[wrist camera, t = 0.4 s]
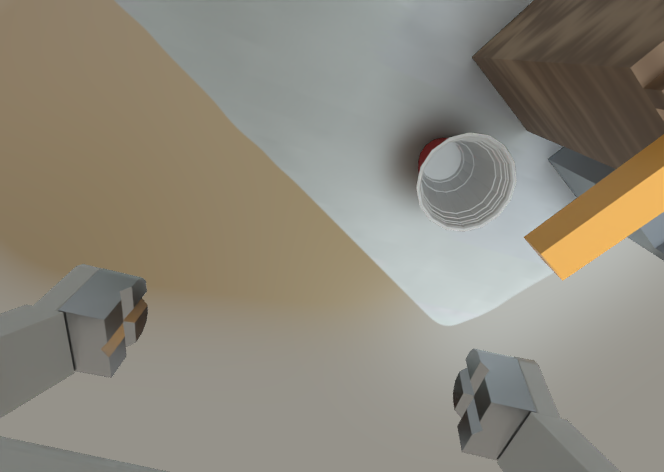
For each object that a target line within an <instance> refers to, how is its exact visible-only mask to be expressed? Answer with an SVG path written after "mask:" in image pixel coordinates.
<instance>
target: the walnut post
mask: <svg viewBox="0 0 664 472" xmlns="http://www.w3.org/2000/svg"><path fill="white" fill-rule="evenodd" d="M472 58H473V59H474V61H475V62H476V63H477V65H478V66H479V67H480V69H481V70H482V71H483V73H484V74H485V75H486V77H487V78H488V79H489V81H490V82H491V83H492V85H493V86H494V87H495V89H496V90H497V91H498V93H499V94H500V95H501V97H502V98H503V99H504V101H505V102H506V103H507V104H508V106H509V107H510V108H511V110H512V111H513V112H514V114H515V115H516V116H517V118H518V119H519V120H520V122H521V123H522V124H523V126H524V127H525V128H526V130H527V131H529V132H531V133H533V134H536V135H538V136H540V137H543V138H545V139H547V140H550V141H552V142H554V143H557V144H559V145H561V146H564V147H566V148H568V149H571V150H573V151H575V152H578V153H580V154H582V155H585V156H587V157H589V158H591V159H594V160H596V161H598V162H601V163H603V164H605V165H608V166H610V167H612V168H615V169H617V168H619V167H620V166H621V165H623V164H624V163H625V162H627V161H628V160H629V159H631V158H632V157H634V156H635V155H636V154H638V153H639V152H640V151H642V150H643V149H644V148H646V147H647V146H649V145H650V144H651V143H653V142H654V141H655V140H657V139H658V138H659V137H661V136H662V135H663V134H664V0H534V1H533V2H532V3H531V4H530V5H529V6H527V7H526V8H525V9H524V10H523V11H522V12H521V13H520V14H519V15H518V16H516V17H515V18H514V19H513V20H512V21H511V22H510V23H509V24H508V25H507V26H505V27H504V28H503V29H502V30H501V31H500V32H499V33H498V34H497V35H496V36H495V37H493V38H492V39H491V40H490V41H489V42H488V43H487V44H486V45H485V46H484V47H482V48H481V49H480V50H479V51H478V52H477V53H476V54H475V55H474V56H473V57H472Z"/></svg>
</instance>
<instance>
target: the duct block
mask: <svg viewBox="0 0 664 472" xmlns="http://www.w3.org/2000/svg"><path fill="white" fill-rule="evenodd" d="M548 160H549V161H550V162H551V164H552V165H553V166H554V168H555V169H556V170H557V172H558V173H559V174H560V176H561V177H562V178H563V180H564V181H565V182H566V184H567V185H568V186H569V188H570V189H571V190H572V192H573V193H574V194H575V196H576V197H577V198H578V197H579V196H580V195H582V194H583V193H585V192H586V191H587V190H589V189H590V188H591V187H593V186H594V185H595V184H597V183H598V182H600V181H601V180H602V179H604V178H605V177H606V176H608V175H609V174H610V173H612V172H613V171H614V170H616V169H615V168H612V167H610V166H608V165H605V164H603V163H601V162H598V161H596V160H594V159H591V158H589V157H587V156H585V155H582V154H580V153H578V152H575V151H573V150H571V149H568V148H566V147H563V148H562V149H561V150H559V151H558V152H557V153H555V154H554V155H553V156H552V157H550V158H549V159H548ZM627 237H628V238H630V239H631V240H633V241H634V242H636V243H638V244H639V245H640V246H642V247H643V248H645V249H647V250H648V251H650V252H651V253H653V254H654V255H656V256H657V257H659V258H660V259H662V260H664V212H663V213H661V214H660V215H658V216H657V217H655V218H654V219H652V220H651V221H650V222H648V223H647V224H645V225H644V226H642V227H641V228H639V229H638V230H636V231H635V232H633V233H632V234H630V235H629V236H627Z"/></svg>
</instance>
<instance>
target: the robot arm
mask: <svg viewBox="0 0 664 472" xmlns="http://www.w3.org/2000/svg"><path fill="white" fill-rule="evenodd" d="M146 292H147V289H146V281H145V280H144V279H143V278H141V277H137V276H133V275H128V274H124V273H120V272H115V271H112V270H107V269H101V268H97V267H93V266H89V265H85V264H82V265H79V266H76V267H75V268H74V269H73V270H72V271H71V272H69V273H68V274H67V275H66V276H65V277H64V278H63V279H62V280H61V281H60V282H58V283H57V284H56V285H55V286H54V287H53V288H52V289H51V290H50V291H49V292H48V293H46V294H45V295H44V296H43V297H42V298H41V299H40V300H39V301H38V302H37V303H35V304H34V305H33V306H31V305H24V306H21V307H18V308H15V309H12V310H9V311H7V312H4V313H1V314H0V418H1V417H3V416H5V415H6V414H8V413H10V412H11V411H13V410H15V409H16V408H18V407H19V406H21V405H23V404H24V403H26V402H28V401H29V400H31V399H33V398H34V397H36V396H38V395H39V394H41V393H43V392H44V391H46V390H47V389H49V388H51V387H52V386H54V385H56V384H57V383H59V382H61V381H62V380H64V379H66V378H67V377H69V376H70V375H72V374H74V371H77V372H83V373H88V374H94V375H99V376H104V377H110V378H111V377H112V376H113V375H114V373H115V372H116V370H117V369H118V367H119V366H120V365H121V363H122V362H123V360H124V359H125V357H126V347H127V346H129V345H131V344H133V343H135V342H136V341H137V340H138V338H139V337H140V335H141V334H142V332H143V329H144V327H145V324H146V321H147V314H148V307H147V304H146V303H145V302H144V300H143V299H142V297H143V296H144V294H145V293H146ZM466 363H467V368H466V369H464V370H462V371H460V372H459V374H458V376H457V378H456V380H455V385H454V390H453V403H454V410H455V411H456V412H457V414H458V415H459V416H460V417H461V418H462V419H461V420H460V422H459V424H458V426H457V427H458V433H459V438H460V444H461V450H462V452H464V453H468V454H472V455H476V456H481V457H485V458H489V459H493V460H497V463H498V465H499V466H500V468H501V469H502V471H503V472H621V471H620V470H619V469H617V467H616V466H614V465H613V464H612V463H611V462H610V461H609V460H608V459H607V458H606V457H605V456H604V455H603V454H602V453H601V452H600V451H599V450H598V449H597V448H596V447H595V446H594V445H593V444H592V443H591V442H590V441H589V440H588V439H587V438H586V437H585V436H584V435H582V434H581V433H580V432H579V431H578V430H577V429H576V428H575V427H574V426H573V425H572V424H571V423H570V422H569V421H568V420H566V419H562V418H560V416H559V413H558V410H557V408H556V406H555V403H554V401H553V399H552V396H551V394H550V391H549V389H548V386H547V384H546V382H545V379H544V377H543V375H542V372H541V370H540V367H539V365H538V364H537V363H536V362H535V361H534V360H529V359H523V358H518V357H511V356H507V355H502V354H497V353H492V352H488V351H482V350H478V349H472V350H471V351H470V352H469V354H468V356H467V358H466ZM0 472H168V471H163V470H158V469H154V468H149V467H144V466H139V465H135V464H130V463H125V462H120V461H116V460H110V459H106V458H101V457H96V456H91V455H87V454H82V453H77V452H73V451H68V450H63V449H58V448H54V447H49V446H44V445H39V444H35V443H30V442H25V441H20V440H15V439H11V438H6V437H1V436H0Z"/></svg>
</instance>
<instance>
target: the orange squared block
mask: <svg viewBox="0 0 664 472" xmlns="http://www.w3.org/2000/svg"><path fill="white" fill-rule="evenodd" d="M663 212H664V134H663V135H662V136H661V137H659V138H658V139H657V140H655V141H654V142H653V143H651V144H650V145H649V146H647V147H646V148H644V149H643V150H642V151H640V152H639V153H638V154H636V155H635V156H634V157H632V158H631V159H629V160H628V161H627V162H625V163H624V164H623V165H621V166H620V167H619V168H617V169H616V170H614V171H613V172H612V173H610V174H609V175H608V176H606V177H605V178H604V179H602V180H601V181H600V182H598V183H597V184H595V185H594V186H593V187H591V188H590V189H589V190H587V191H586V192H585V193H583V194H582V195H580V196H579V197H578V198H576V199H575V200H574V201H572V202H571V203H570V204H568V205H567V206H566V207H564V208H563V209H561V210H560V211H559V212H557V213H556V214H555V215H553V216H552V217H551V218H549V219H548V220H546V221H545V222H544V223H542V224H541V225H540V226H538V227H537V228H536V229H534V230H533V231H531V232H530V233H529V234H527V235H526V236H525V237H524V238H525V239H526V241H527V242H528V243H529V244H530V245H531V247H532V248H533V249H534V250H535V251H536V253H537V254H538V255H539V256H540V257H541V258H542V260H543V261H544V262H545V263H546V264H547V265H548V266H549V267H550V268H551V269H552V270H553V271H554V272H555V273H556V274H557V275H558V276H559V277H560V278H561V279H562V280H564V279H566V278H567V277H569V276H570V275H572V274H573V273H575V272H576V271H577V270H579V269H580V268H582V267H583V266H585V265H586V264H587V263H589V262H591V261H592V260H594V259H595V258H597V257H598V256H600V255H601V254H603V253H604V252H605V251H607V250H608V249H610V248H611V247H613V246H614V245H616V244H617V243H619V242H620V241H622V240H623V239H625V238H626V237H627V236H629V235H630V234H632V233H633V232H635V231H636V230H638V229H639V228H641V227H642V226H644V225H645V224H647V223H648V222H650V221H651V220H652V219H654V218H655V217H657V216H658V215H660V214H661V213H663Z"/></svg>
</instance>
